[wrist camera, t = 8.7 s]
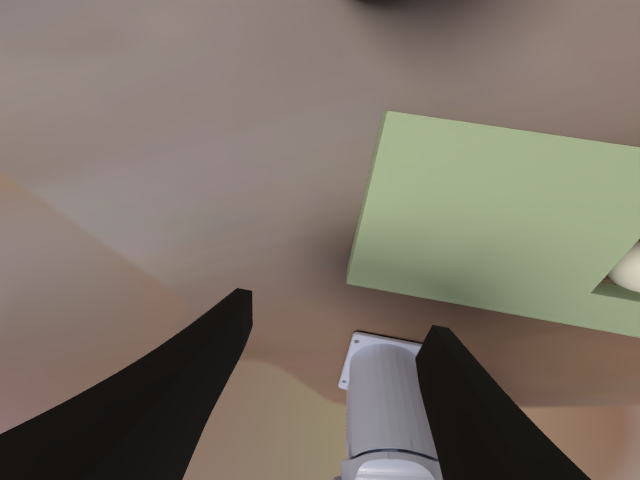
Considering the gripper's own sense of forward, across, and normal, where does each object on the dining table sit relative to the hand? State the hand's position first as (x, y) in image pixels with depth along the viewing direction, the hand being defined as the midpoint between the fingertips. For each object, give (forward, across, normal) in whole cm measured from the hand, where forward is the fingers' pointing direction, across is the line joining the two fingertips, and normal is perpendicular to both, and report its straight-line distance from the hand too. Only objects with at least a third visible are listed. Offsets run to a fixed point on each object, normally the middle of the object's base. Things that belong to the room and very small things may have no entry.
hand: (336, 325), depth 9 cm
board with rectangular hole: (+10, -13, -2) cm, 16 cm away
